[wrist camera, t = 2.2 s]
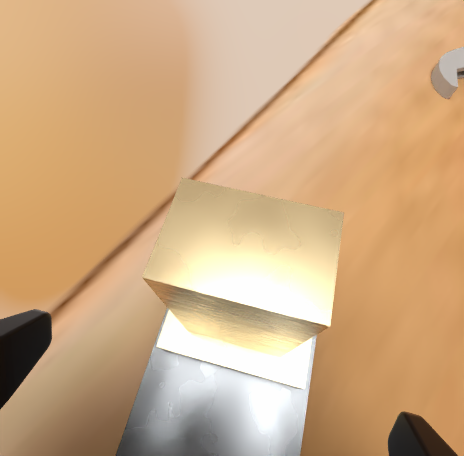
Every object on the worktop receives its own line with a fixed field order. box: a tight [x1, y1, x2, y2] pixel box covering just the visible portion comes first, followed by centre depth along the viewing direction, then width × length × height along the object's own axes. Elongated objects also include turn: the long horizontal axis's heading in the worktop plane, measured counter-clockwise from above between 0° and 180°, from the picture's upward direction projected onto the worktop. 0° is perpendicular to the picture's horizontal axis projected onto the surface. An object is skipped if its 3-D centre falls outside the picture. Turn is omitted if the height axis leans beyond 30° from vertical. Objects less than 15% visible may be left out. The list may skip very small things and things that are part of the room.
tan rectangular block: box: [142, 178, 344, 389], centre depth 13 cm, size 5×7×10 cm
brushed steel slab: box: [116, 308, 317, 456], centre depth 14 cm, size 16×8×5 cm, turn 165°
